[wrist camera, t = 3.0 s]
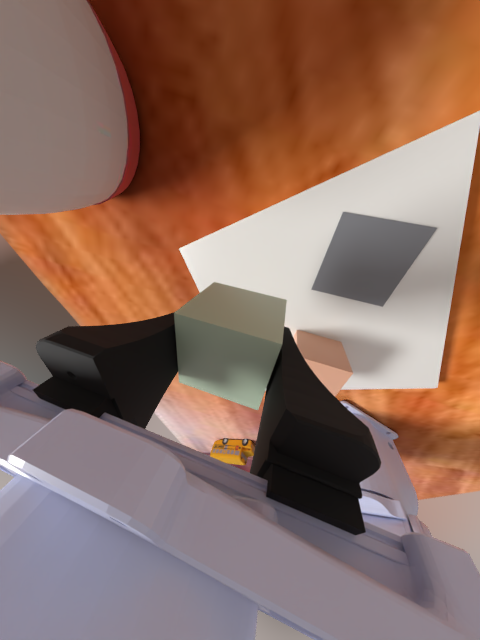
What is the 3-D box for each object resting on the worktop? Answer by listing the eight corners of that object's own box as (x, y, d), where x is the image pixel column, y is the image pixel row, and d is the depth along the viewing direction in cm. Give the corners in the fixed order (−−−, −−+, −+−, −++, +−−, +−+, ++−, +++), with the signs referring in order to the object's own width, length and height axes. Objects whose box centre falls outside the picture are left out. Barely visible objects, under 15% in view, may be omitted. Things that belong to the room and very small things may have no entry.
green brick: (286, 299, 10) (282, 344, 7) (268, 355, 13) (257, 410, 9) (214, 281, 11) (173, 312, 7) (210, 338, 14) (179, 382, 10)
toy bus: (258, 446, 37) (254, 467, 34) (222, 444, 41) (216, 463, 38) (252, 438, 36) (248, 459, 33) (215, 436, 40) (208, 455, 37)
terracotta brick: (341, 341, 18) (353, 373, 15) (322, 371, 21) (328, 404, 17) (296, 329, 19) (297, 356, 15) (284, 359, 22) (282, 388, 18)
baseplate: (431, 380, 19) (438, 388, 18) (248, 385, 28) (246, 391, 27) (467, 118, 10) (484, 108, 9) (184, 247, 19) (178, 248, 18)
